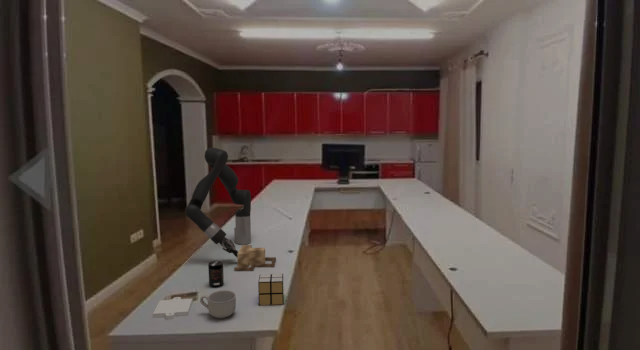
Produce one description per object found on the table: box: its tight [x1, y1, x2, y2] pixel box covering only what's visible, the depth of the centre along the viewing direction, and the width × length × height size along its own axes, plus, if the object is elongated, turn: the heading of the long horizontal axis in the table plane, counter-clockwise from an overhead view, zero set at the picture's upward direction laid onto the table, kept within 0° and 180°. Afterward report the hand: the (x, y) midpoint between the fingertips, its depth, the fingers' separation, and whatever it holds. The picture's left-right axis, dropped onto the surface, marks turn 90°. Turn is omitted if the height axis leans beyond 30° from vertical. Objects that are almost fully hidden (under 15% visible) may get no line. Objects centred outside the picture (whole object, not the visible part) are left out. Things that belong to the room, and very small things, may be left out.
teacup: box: [199, 289, 237, 319], centre depth 168 cm, size 14×11×8 cm
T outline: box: [233, 256, 277, 272], centre depth 230 cm, size 20×23×2 cm
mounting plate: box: [152, 296, 194, 320], centre depth 173 cm, size 18×13×2 cm
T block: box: [236, 244, 266, 267], centre depth 229 cm, size 13×16×8 cm
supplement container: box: [207, 260, 225, 288], centre depth 198 cm, size 7×7×10 cm
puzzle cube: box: [257, 272, 285, 306], centre depth 181 cm, size 10×10×10 cm
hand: (239, 256), depth 229 cm, fingers closed
